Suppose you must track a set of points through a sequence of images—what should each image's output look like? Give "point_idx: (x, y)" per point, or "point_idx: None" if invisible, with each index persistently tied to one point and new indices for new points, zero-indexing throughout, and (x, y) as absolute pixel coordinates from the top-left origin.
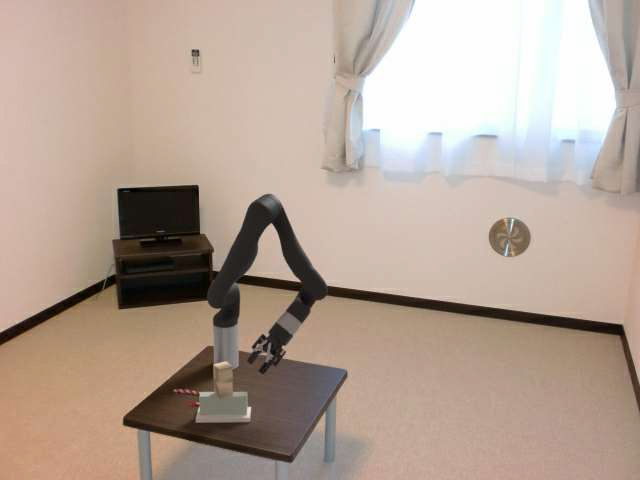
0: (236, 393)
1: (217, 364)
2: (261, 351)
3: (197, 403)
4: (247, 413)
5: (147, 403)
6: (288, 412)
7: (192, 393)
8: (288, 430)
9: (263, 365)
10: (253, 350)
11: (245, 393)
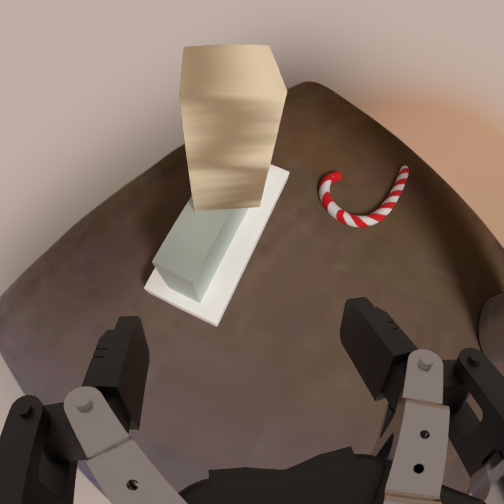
0: (200, 229)
1: (256, 53)
2: (381, 436)
3: (323, 184)
4: (175, 293)
5: (359, 112)
6: (148, 440)
7: (387, 197)
8: (53, 377)
9: (105, 356)
10: (424, 355)
11: (179, 267)
